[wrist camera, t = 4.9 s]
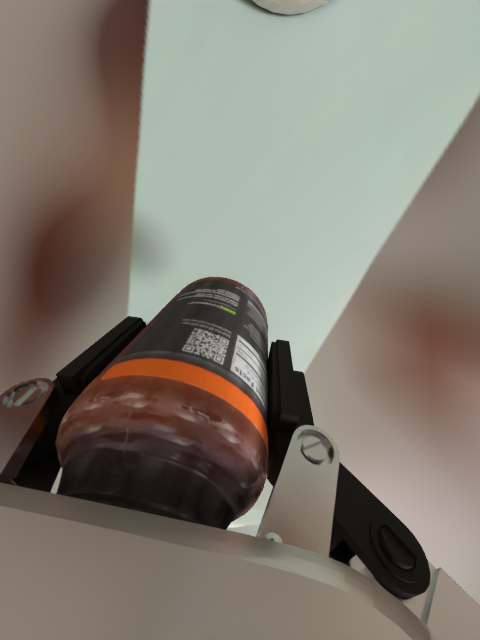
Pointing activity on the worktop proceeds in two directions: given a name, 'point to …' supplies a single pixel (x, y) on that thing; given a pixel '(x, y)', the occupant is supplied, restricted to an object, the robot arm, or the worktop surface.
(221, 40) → the worktop surface
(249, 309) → the supplement bottle
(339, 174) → the worktop surface
